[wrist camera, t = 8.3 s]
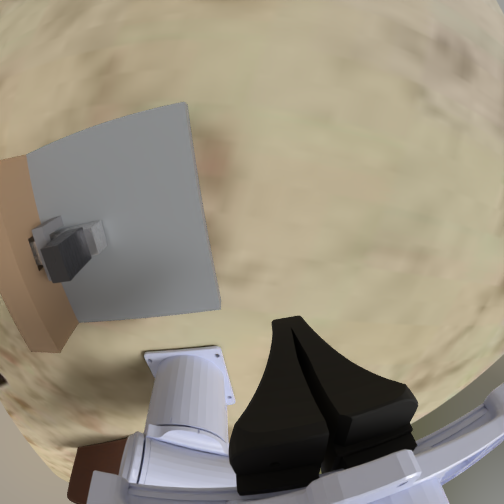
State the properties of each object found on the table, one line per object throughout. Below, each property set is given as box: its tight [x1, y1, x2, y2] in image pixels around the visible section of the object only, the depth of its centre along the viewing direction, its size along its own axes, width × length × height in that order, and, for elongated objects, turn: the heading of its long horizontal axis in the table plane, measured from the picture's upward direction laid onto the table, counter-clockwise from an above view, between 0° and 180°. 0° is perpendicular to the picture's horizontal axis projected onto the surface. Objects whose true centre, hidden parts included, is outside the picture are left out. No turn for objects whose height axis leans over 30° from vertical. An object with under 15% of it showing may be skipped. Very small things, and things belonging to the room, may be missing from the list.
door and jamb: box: [0, 102, 221, 353], centre depth 18 cm, size 18×16×6 cm
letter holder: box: [67, 438, 128, 504], centre depth 29 cm, size 10×20×14 cm, turn 123°
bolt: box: [28, 220, 108, 283], centre depth 16 cm, size 10×2×5 cm, turn 97°
